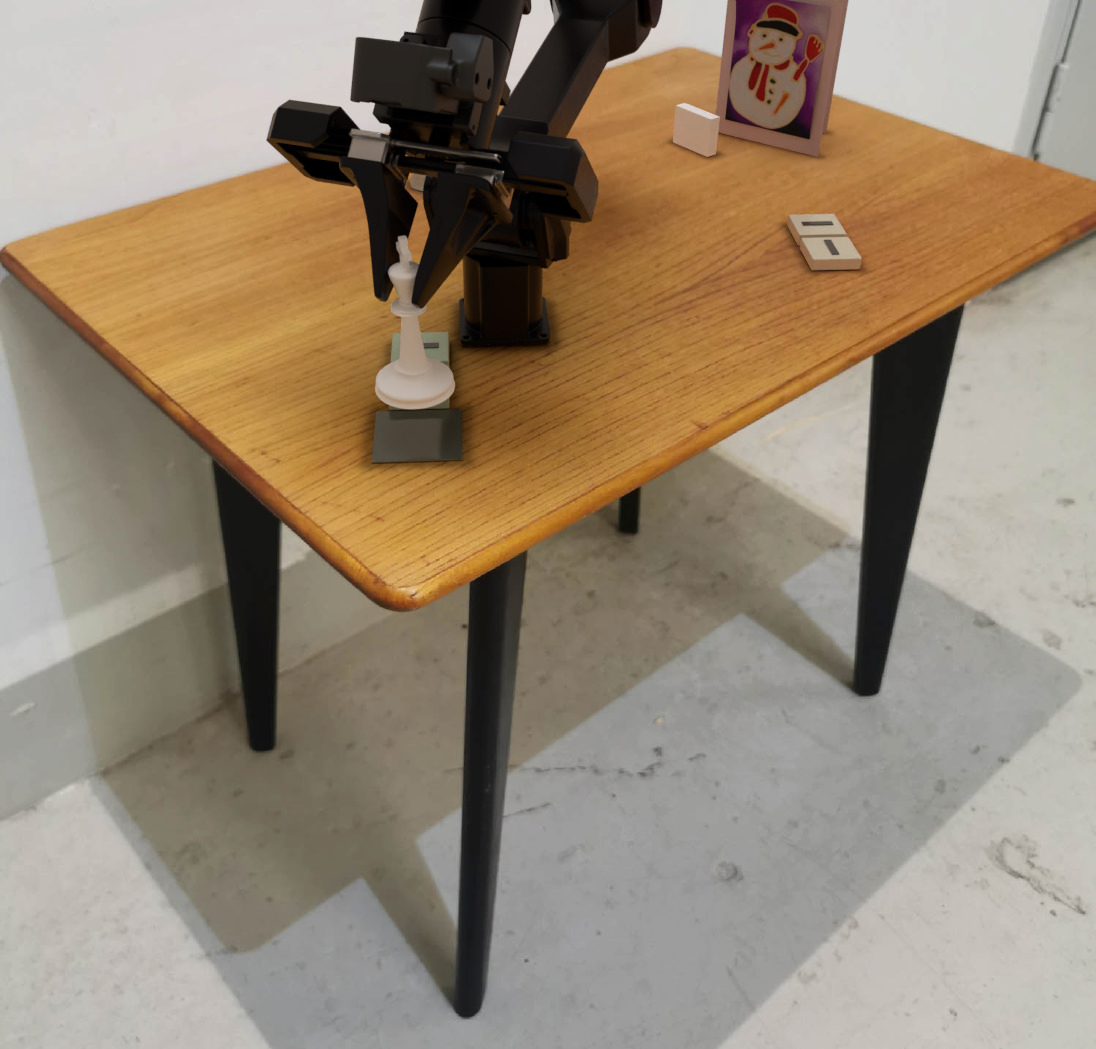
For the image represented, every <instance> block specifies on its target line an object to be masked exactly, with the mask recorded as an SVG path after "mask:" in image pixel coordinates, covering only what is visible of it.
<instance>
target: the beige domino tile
mask: <svg viewBox="0 0 1096 1049" xmlns="http://www.w3.org/2000/svg"><path fill="white" fill-rule="evenodd" d="M787 217H788V218H787V222H786V227H787V229H788V230H789V232H790V234H791V235H792V238H793V240H794V241H795V243H796V245H797V246H798V247H799V250H800V252H801V254H802V256H803V257H804V259H805V261H806V263H807V265H808V266H809V268H810V270H811V271H841V270H843V271H845V270H860V269H861V265H862V261H863V258H862V256H861V254H860V253H859V251H858V250H857V248H856V247H855V245H854V243H853V241H852V240H851V239H850V237H849V236H847V235H848V234H847V232H846V230H845V229H844V227H843V226H842V224H841V222H840V220H839V219H838V217H837V216H836V215H835V213H808V214H807V213H806V214H803V213H802V214H788V215H787Z"/></svg>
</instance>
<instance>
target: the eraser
mask: <svg viewBox="0 0 1096 1049" xmlns="http://www.w3.org/2000/svg"><path fill="white" fill-rule="evenodd" d="M719 121H720V117H719V116H717V115H716V114H713V113H711V112H709V111H706V110H704V109H701V108H699V107H697V106H694V105H692V104H689V103H686V102H682V103H678V104H676V105H675V110H674V121H673V132H672V133H673V134H672V143H673V144H675V145H679V146H680V147H683V148H684V149H685V148H686V149H687V150H690V151H692V152H694V153H697V154H699V155H701V156H704V157H706V158H709V157H711V156H715V155H717V149H718V148H717V147H718V139H719V133H718V131H719Z"/></svg>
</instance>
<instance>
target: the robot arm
mask: <svg viewBox="0 0 1096 1049" xmlns="http://www.w3.org/2000/svg"><path fill="white" fill-rule="evenodd" d="M663 1H664V0H549V4H550V9H551V12H552V17H553V25H552V27H551V28H550V30H549V31H548V33H547V35H546V36H545V38H544V39H543V41H542V42H541V44H540V46H539V47H538V49H537V50H536V53H535V54H534V56H533V57H532V59H531V61H530V62H529V63H528V66H527V67H526V69H525V70H524V72H523V73H522V75H521V77H520V78H519V80H518V82H517V83H516V85H515V86H514V88H513V90H511V88H510V86H509V85H508V83H507V77H508V73H509V69H510V65H511V61H512V57H513V53H514V49H515V46H516V42H517V37H518V35H519V34H518V33H519V29H520V27H521V21H522V18H523V16H528V15H530V14H531V12H532V0H422V5H421V8H420V12H419V16H418V20H417V24H416V27H415V31H414V32H413V31H404V32H403V35H402V36H401V37H400V38H399V40H392V39H384V38H383V39H381V38H374V37H366V36H356V37H355V42H354V53H353V63H352V75H351V87H350V97H349V100H350V101H351V102H353V103H358V104H360V103H367V104H370V103H371V104H373V110H372V115H373V116H374V118H375V119H376V120H377V121H378V123H379V124H384V125H388V127H389V128H390V129H389V133H388V134H387V133H383V132H379V131H371V130H365V129H361V128H360V127H359V126H358V125H357V124H356V122H355V121H354V120H353V119H352V118H351V117H350V116H349V114H348V113H347V112H346V111H345V110H344V108H343V107H342V106H339V105H331V104H325V103H324V104H323V103H317V102H309V101H303V100H297V99H287V101H285V102H283V103H282V104H280V105H279V106H278V107H277V108H276V109H275V111H274V112H273V114H272V117H271V121H270V124H269V128H268V132H267V136H266V139H265V141H266V143H268V144H269V145H270V146H271V147H273V149H275V150H276V151H277V152H278V153H279V154H280V156H282V157H283V158H284V159H285V160H287V162H288V163H289V164H291V165H292V166H293V167H294V168H295V169H296V170H297V172H299V173H300V174H301V175H302V176H304V177H305V178H308V179H309V180H312V181H315V182H320V183H326V184H331V185H338V186H343V187H344V186H345V187H352V188H354V187H355V186H356V187H357V189H358V190H359V192H360V195H361V198H362V201H363V206H364V212H365V216H366V222H367V230H368V239H369V241H368V242H369V251H370V262H371V271H372V272H371V274H372V283H373V285H372V286H373V295H374V297H375V298H376V299H377V300H378V301H379V302H384V303H386V302H388V301H389V298H390V295H391V294H392V291H393V289H394V288H395V287H394V285H393V283H392V281H391V280H390V277H389V275H388V270H389V268H390V267H391V266H392V265H393V264H395V263H398V262H400V255H399V252H398V251H397V249H396V242H398V236H404V235H405V236H406V237H407V239H408V240H409V237H410V235H411V234H410V233H411V230H412V227H413V225H414V224H413V223H414V220H415V216H416V213H417V210H418V207H419V202H418V201H417V200H416V198H414V196H413V195H412V194H411V193H410V192H409V191H408V190H407V188H406V184H407V181H408V180H409V177H410V174H412V175H413V174H419V175H426V177H425V182H424V187H423V191H422V204H423V208H424V213H425V217H426V221H427V224H428V228H429V230H428V234H427V237H426V240H425V244H424V247H423V250H422V254H421V256H420V260H419V263H418V264H419V266H418V270H417V273H416V277H415V282H414V287H413V293H412V299H411V302H412V304H413V305H414V306H415V307H416V308H420V309H422V308H424V307H425V305H427V304H428V303H429V301H431V299H432V298H433V297H434V296H435V295H436V293H437V292H438V291H439V289H440V288H441V286H442V285H443V284H444V283H445V282H446V280H447V279H448V278H449V276H450V275H451V274H452V273H453V271H454V270H456V268H457V267H458V265H459V264H460V263H461V261H462V283H463V284H462V285H463V286H462V288H463V297H460V299H459V300H458V312H459V313H458V315H459V316H458V318H459V319H458V320H459V322H458V326H459V344H460V345H461V346H464V347H480V346H482V347H483V346H518V345H522V346H524V345H547V344H549V343H550V342H551V331H550V330H551V329H550V324H549V316H548V308H547V302H546V297H545V296H544V295H543V287H544V286H543V285H544V284H543V282H544V281H543V279H544V278H543V275H544V274H543V273H544V272H543V271H544V270H543V269H545V270H548V269H549V268H550V267H551V265H552V264H553V263H557V262H560V261H565V260H567V259H568V257H569V256H570V237H571V235H572V226H571V224H572V222H573V223H580V224H587V223H590V222H592V221H593V218H594V213H595V209H596V205H597V201H598V197H599V179H598V177H597V175H596V172H595V171H594V168H593V166H592V164H591V162H590V159H589V157H588V155H587V153H586V151H585V150H584V148H583V146H582V145H581V142H579V140H578V139H577V138H572V137H571V138H570V137H568V135H569V134H570V132H571V130H572V128H573V127H574V124H575V123H576V120H578V117H579V116H580V114H581V111H582V110H583V108H584V106H585V104H586V102H587V100H588V99H589V97H590V95H591V93H592V91H593V90H594V88H595V87H596V85H597V83H598V80H599V79H600V77H601V75H602V73H603V71H604V70H605V68H606V66H607V64H608V63H611V62H612V61H615V60H619V59H621V58H624V57H626V56H630V55H633V54H634V53H636V52H637V51H638V50H639V49H640V48H641V46H642V45H643V44H644V42H645V41H646V40H647V38H648V37H649V35H650V33H651V31H652V29H655V28H657V26H658V25H659V21H660V19H661V15H662V8H663ZM500 107H501V109H500ZM499 109H500V110H499Z"/></svg>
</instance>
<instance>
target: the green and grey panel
mask: <svg viewBox="0 0 1096 1049" xmlns="http://www.w3.org/2000/svg"><path fill="white" fill-rule="evenodd" d="M421 337H422V341H423V345H424V350H425V354H426V357H428V358H430V359H434V360H437V361H440V362H442V363H444V364H445V365H446V366H448V367H449V368H450V332H449V331H429V332H428V331H426V332H424V331H423V332H422V331H421ZM400 341H401V332H393V333H392V338H391V349H390V350H391V352H390V362H389V363H391V362H394V361H396V360H398V359H399V357H400ZM450 397H451V396H450ZM450 397H449V398H448V399H447V400H445V401H444V402H442V403H440V404H438V405H435V406H432V407H428V408H424V409H401V408H396V407H393V406H390V405H388V404H387V405H388V407H387V408H388V410H389V411H388V410H387V411H376V412H375V420H374V422H375V423H374V431H373V432H374V433H373V444H372V456H371V464H388V463H389V464H390V463H419V462H420V463H421V462H422V463H423V462H424V463H425V462H452V461H453V462H455V461H456V462H457V461H464V460H463V459H464V458H463V409H462V408H454V409H451V408H450V407H451V406H450V404H451V403H450Z"/></svg>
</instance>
